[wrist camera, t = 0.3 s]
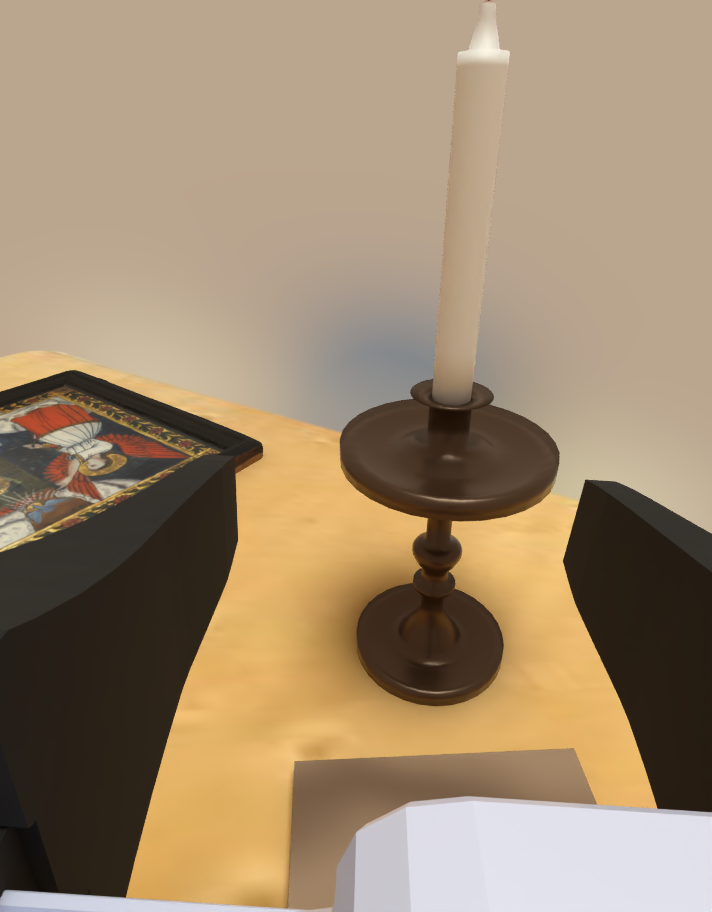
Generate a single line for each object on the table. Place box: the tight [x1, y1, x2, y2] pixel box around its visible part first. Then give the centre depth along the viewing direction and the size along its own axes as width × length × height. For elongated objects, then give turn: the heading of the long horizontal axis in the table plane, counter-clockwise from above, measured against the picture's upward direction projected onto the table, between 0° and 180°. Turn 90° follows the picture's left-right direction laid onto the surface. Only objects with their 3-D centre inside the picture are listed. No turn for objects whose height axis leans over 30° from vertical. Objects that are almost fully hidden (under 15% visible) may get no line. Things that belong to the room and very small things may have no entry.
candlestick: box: [340, 0, 559, 706], centre depth 27 cm, size 11×11×35 cm
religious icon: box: [0, 370, 263, 552], centre depth 54 cm, size 38×35×3 cm
